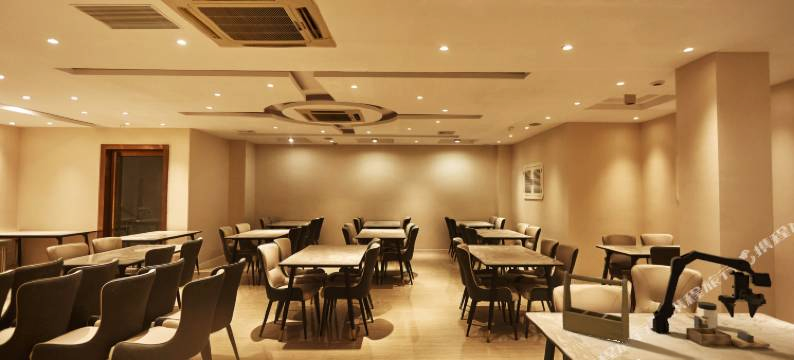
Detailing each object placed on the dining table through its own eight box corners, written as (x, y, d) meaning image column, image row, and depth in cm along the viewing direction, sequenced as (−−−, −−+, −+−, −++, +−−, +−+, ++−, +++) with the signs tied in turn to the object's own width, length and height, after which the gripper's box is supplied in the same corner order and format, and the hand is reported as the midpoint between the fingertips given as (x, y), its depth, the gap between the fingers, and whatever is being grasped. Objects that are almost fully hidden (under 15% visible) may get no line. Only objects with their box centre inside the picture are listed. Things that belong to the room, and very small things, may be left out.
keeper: (698, 335, 203) (698, 317, 203) (694, 333, 206) (694, 315, 206) (708, 335, 202) (708, 317, 203) (703, 333, 206) (703, 315, 206)
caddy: (562, 329, 210) (561, 272, 211) (569, 324, 218) (569, 269, 219) (624, 344, 190) (623, 280, 191) (629, 338, 198) (629, 277, 199)
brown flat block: (701, 345, 189) (701, 335, 189) (686, 338, 199) (686, 327, 199) (731, 346, 189) (731, 335, 189) (714, 338, 198) (714, 328, 199)
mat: (740, 349, 185) (740, 348, 185) (723, 341, 195) (723, 340, 195) (769, 349, 185) (769, 348, 185) (750, 341, 195) (750, 340, 195)
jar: (713, 329, 212) (712, 306, 212) (695, 325, 218) (694, 303, 219) (719, 326, 216) (719, 304, 217) (702, 322, 223) (701, 300, 224)
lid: (739, 348, 185) (739, 337, 185) (722, 340, 195) (722, 330, 195) (770, 348, 185) (769, 337, 185) (751, 340, 195) (750, 330, 195)
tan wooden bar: (704, 324, 200) (704, 320, 200) (686, 316, 213) (685, 312, 213) (709, 324, 200) (709, 320, 200) (690, 316, 213) (690, 312, 213)
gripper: (735, 288, 185) (736, 322, 184) (776, 289, 184) (777, 323, 184) (717, 283, 196) (717, 315, 196) (755, 283, 196) (756, 315, 195)
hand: (741, 317), depth 192 cm, fingers open, 9 cm apart
